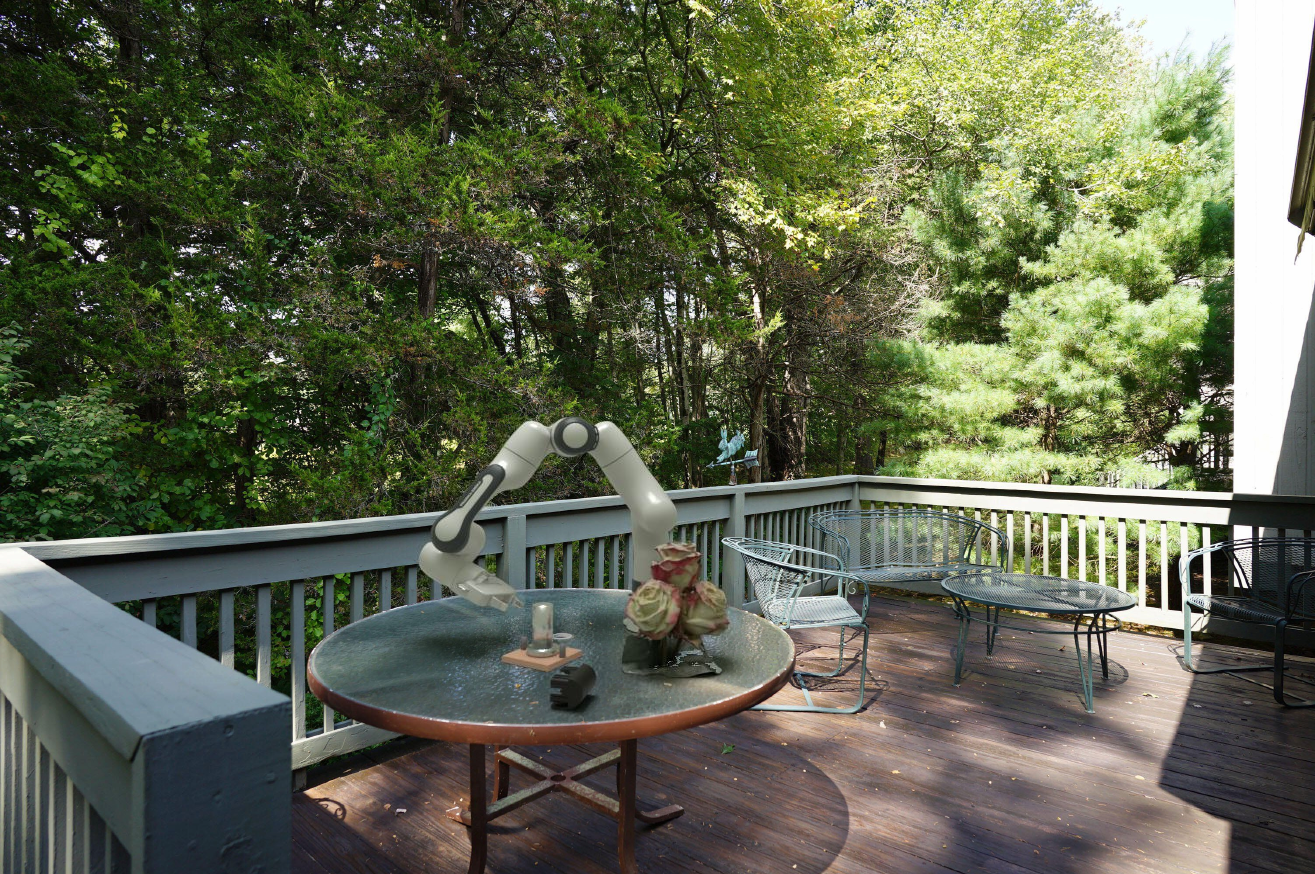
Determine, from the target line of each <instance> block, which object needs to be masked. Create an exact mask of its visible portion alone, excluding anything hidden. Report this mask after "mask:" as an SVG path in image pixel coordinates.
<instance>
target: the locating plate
mask: <svg viewBox="0 0 1315 874" xmlns="http://www.w3.org/2000/svg"><path fill="white" fill-rule="evenodd" d="M558 645H559V653H558V654H557V655H555V656H552V657H547V658H534V657H530V656H528V655H527V654H526V647H527V646H528V636H525V635H524V636H521V637H520V648H518V649H515V650H514V651H511V652H508V653H507V654H504V655H502V656H501V658H502V659H501V662H502V663H506V664H510V665H515V666H519V667H524V668H527V669H534V670H538V671H542V672H546V673H548V672H551V671H553V670H556V669H557V668H560V667H563V666H565V665H566V664H569V663H570V661H571V662H572V661H575V660H578V659H580V658H581V657H583V650H582V649H579V648H578V649H577V648H572V647H569V646H567V644H566V643H559V644H558Z"/></svg>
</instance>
